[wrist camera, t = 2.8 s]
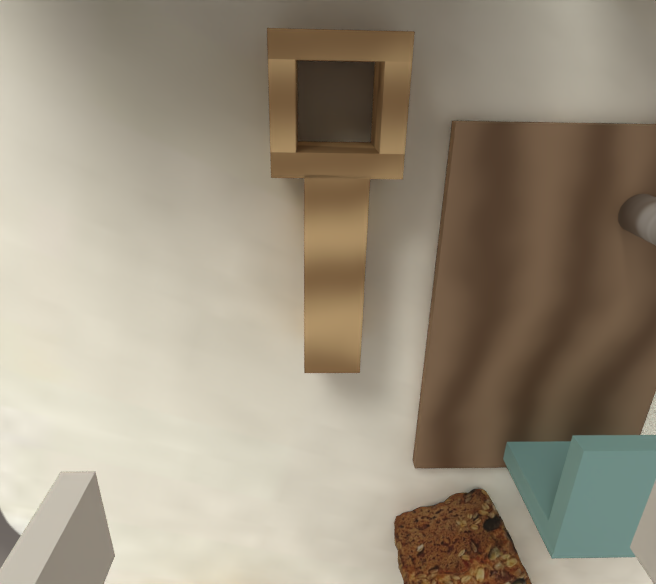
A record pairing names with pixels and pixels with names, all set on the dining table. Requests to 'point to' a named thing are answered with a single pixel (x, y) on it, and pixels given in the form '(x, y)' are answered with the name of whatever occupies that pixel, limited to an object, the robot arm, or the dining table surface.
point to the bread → (457, 544)
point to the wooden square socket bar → (337, 178)
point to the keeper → (585, 491)
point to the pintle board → (540, 290)
